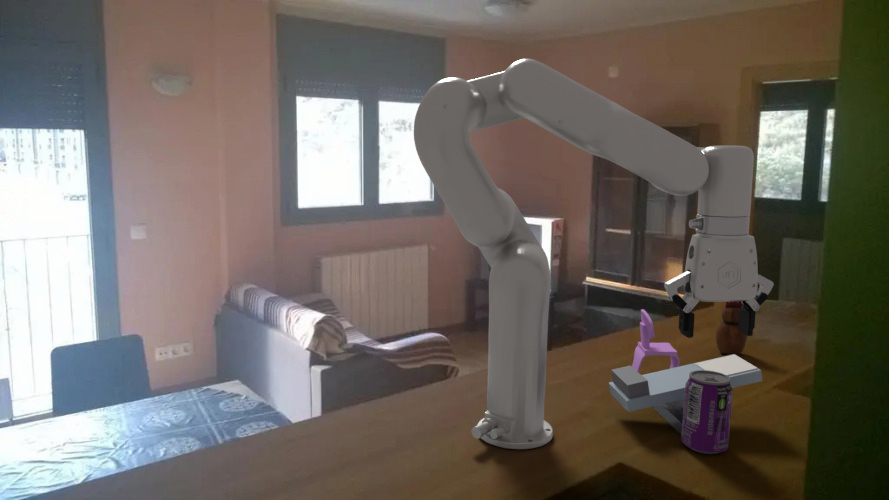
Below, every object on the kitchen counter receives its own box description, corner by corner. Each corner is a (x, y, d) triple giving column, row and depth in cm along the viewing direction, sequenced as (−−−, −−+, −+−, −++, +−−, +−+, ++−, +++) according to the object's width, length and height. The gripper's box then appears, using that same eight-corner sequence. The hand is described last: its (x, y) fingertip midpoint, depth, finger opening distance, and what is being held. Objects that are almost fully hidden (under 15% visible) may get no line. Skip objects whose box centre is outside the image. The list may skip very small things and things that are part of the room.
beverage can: (731, 459, 108) (738, 385, 106) (684, 454, 109) (689, 381, 108) (723, 440, 115) (729, 371, 113) (678, 436, 116) (683, 367, 114)
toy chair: (680, 389, 139) (685, 316, 137) (635, 387, 139) (640, 314, 137) (668, 375, 147) (673, 306, 145) (626, 373, 147) (631, 305, 145)
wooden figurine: (747, 352, 164) (752, 290, 162) (742, 358, 159) (748, 295, 157) (717, 347, 167) (722, 286, 165) (712, 353, 163) (717, 291, 160)
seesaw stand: (681, 435, 117) (683, 403, 116) (650, 405, 130) (652, 377, 129) (715, 434, 117) (718, 402, 116) (681, 405, 130) (683, 376, 129)
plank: (628, 411, 117) (624, 387, 116) (610, 392, 126) (606, 369, 125) (762, 381, 119) (759, 356, 118) (735, 364, 128) (732, 341, 127)
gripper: (679, 230, 102) (673, 343, 105) (790, 228, 104) (781, 339, 106) (658, 224, 109) (653, 329, 112) (762, 223, 111) (755, 326, 114)
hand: (716, 334), depth 109 cm, fingers open, 9 cm apart
